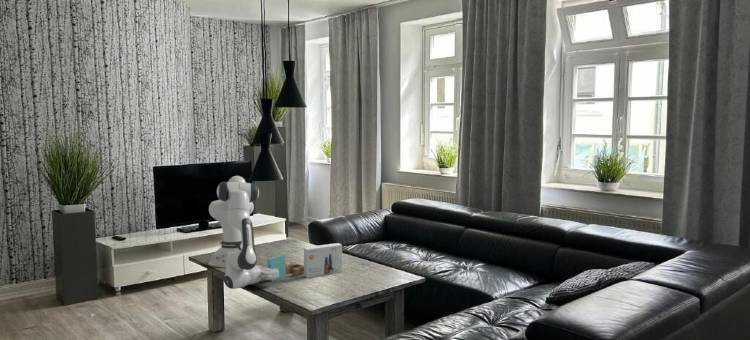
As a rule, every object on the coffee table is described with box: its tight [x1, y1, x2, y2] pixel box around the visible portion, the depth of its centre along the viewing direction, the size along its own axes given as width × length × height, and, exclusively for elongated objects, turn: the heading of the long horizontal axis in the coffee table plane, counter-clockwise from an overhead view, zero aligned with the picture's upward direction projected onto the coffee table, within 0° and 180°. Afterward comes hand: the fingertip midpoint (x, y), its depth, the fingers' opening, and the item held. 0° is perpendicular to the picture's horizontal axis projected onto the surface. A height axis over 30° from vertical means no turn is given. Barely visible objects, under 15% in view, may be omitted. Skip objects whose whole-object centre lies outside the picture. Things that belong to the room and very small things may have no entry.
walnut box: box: [286, 262, 304, 277], centre depth 321 cm, size 8×11×4 cm
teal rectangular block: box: [267, 254, 287, 283], centre depth 310 cm, size 10×2×12 cm, turn 140°
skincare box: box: [303, 242, 343, 279], centre depth 317 cm, size 21×5×16 cm, turn 117°
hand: (274, 268), depth 309 cm, fingers closed on teal rectangular block, 2 cm apart
